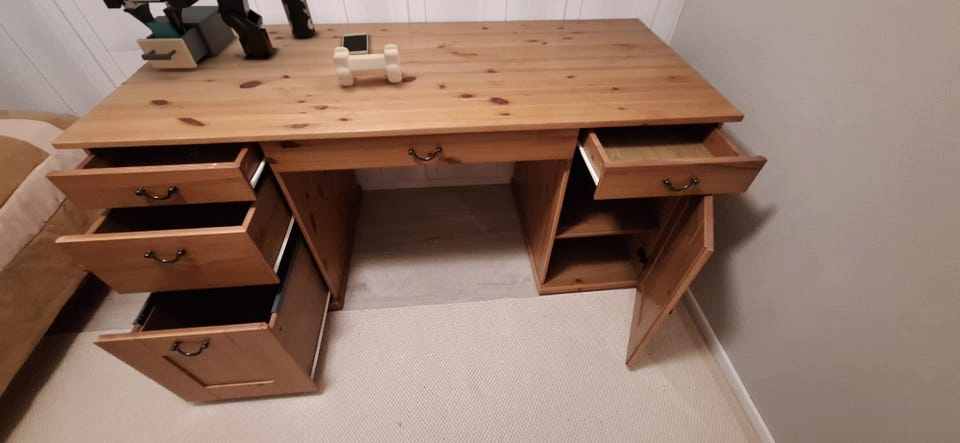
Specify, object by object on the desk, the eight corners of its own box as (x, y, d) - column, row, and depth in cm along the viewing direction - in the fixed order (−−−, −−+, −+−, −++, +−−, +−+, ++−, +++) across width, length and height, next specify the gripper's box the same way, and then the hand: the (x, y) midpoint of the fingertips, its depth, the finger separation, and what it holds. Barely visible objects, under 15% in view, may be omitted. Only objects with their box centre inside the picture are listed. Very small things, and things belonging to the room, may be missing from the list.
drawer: (187, 75, 94) (171, 47, 89) (144, 75, 93) (125, 47, 88) (216, 48, 105) (203, 21, 100) (178, 48, 105) (163, 22, 100)
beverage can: (309, 40, 112) (295, -6, 103) (289, 38, 113) (273, -8, 104) (320, 32, 116) (307, -13, 107) (300, 30, 117) (286, -14, 108)
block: (189, 36, 98) (178, 15, 95) (179, 44, 95) (167, 22, 91) (169, 36, 98) (157, 15, 95) (158, 44, 95) (146, 23, 91)
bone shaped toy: (402, 71, 98) (397, 39, 92) (402, 87, 92) (397, 53, 86) (342, 75, 96) (333, 42, 90) (339, 91, 90) (329, 57, 84)
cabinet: (215, 56, 103) (198, 22, 97) (171, 56, 103) (152, 23, 97) (235, 37, 113) (221, 5, 107) (195, 37, 112) (179, 5, 106)
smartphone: (368, 35, 114) (367, 31, 114) (368, 55, 104) (367, 52, 103) (343, 36, 113) (343, 33, 113) (341, 58, 103) (341, 54, 102)
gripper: (191, -46, 90) (223, 24, 102) (111, -45, 90) (152, 25, 101) (166, -34, 83) (204, 40, 94) (79, -33, 82) (127, 41, 93)
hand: (172, 36), depth 96 cm, fingers closed on block, 5 cm apart
